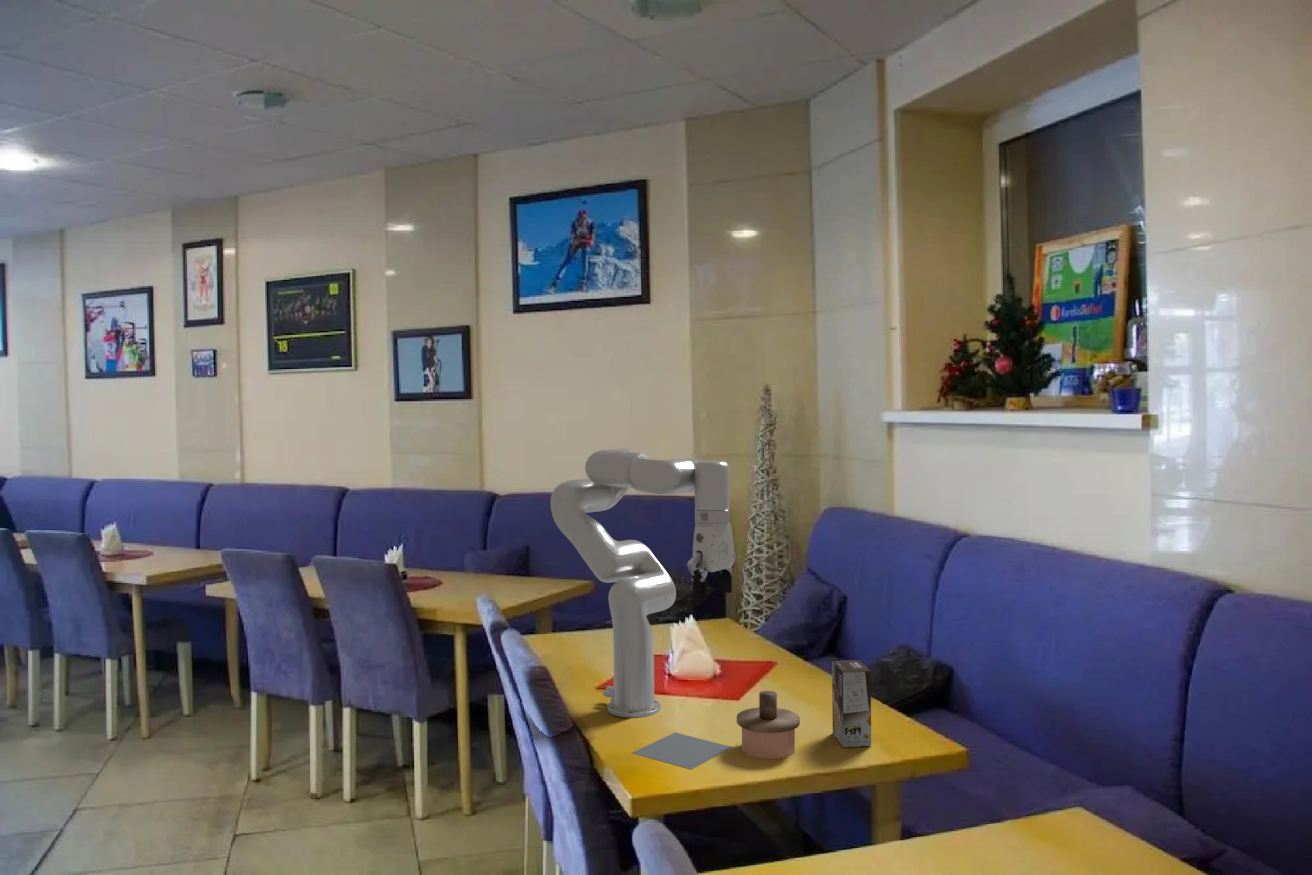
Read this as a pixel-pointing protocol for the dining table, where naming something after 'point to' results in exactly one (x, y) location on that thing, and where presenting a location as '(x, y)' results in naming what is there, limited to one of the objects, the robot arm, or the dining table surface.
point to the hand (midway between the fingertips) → (712, 595)
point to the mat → (682, 750)
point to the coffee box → (851, 703)
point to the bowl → (768, 744)
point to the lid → (768, 716)
